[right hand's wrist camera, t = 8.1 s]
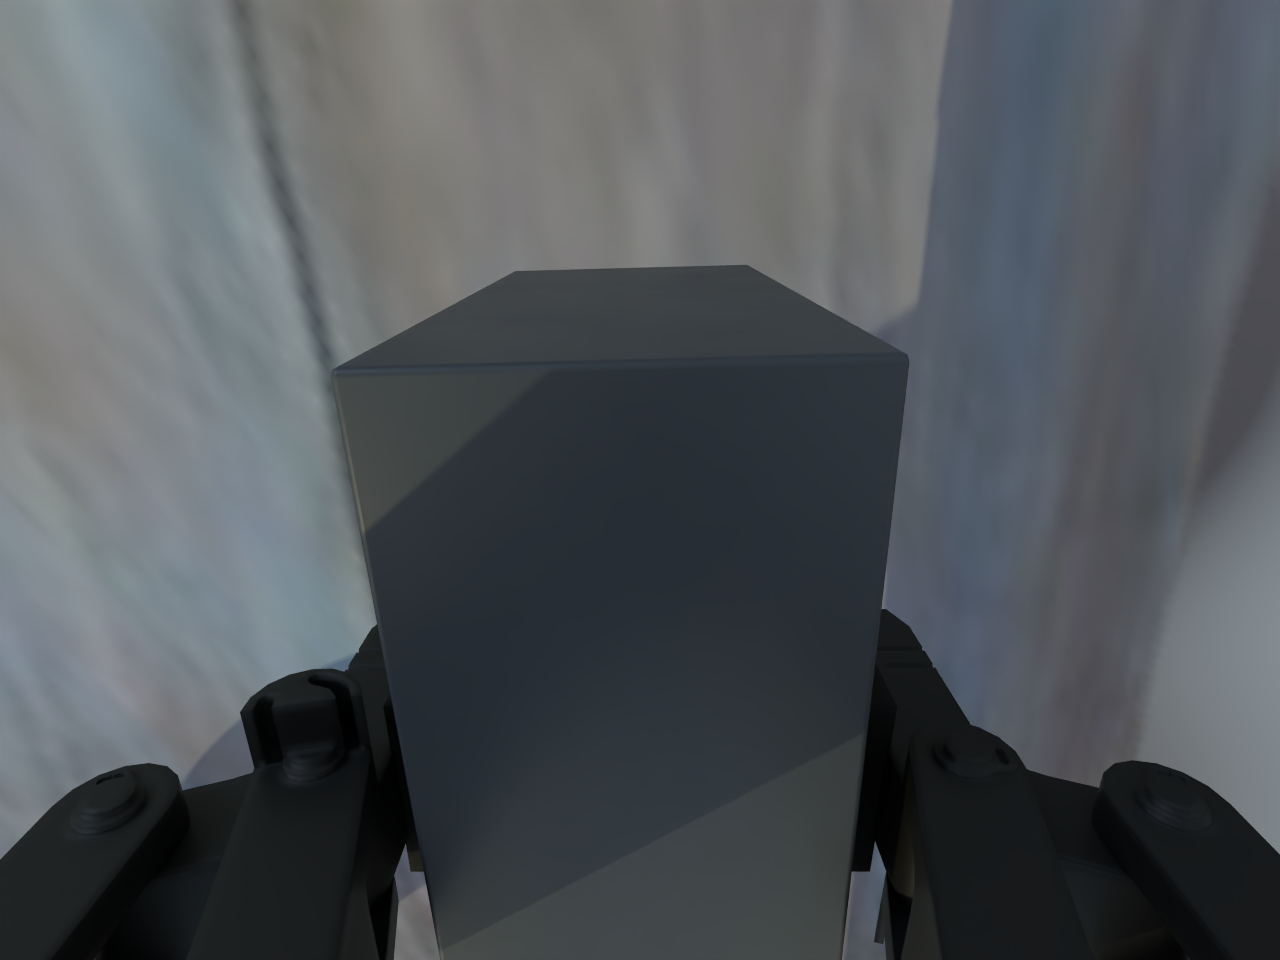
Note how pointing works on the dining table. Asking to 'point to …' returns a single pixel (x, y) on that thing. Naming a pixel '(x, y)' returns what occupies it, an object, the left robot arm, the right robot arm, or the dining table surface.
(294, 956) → the right robot arm
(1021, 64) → the dining table surface
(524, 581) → the post
